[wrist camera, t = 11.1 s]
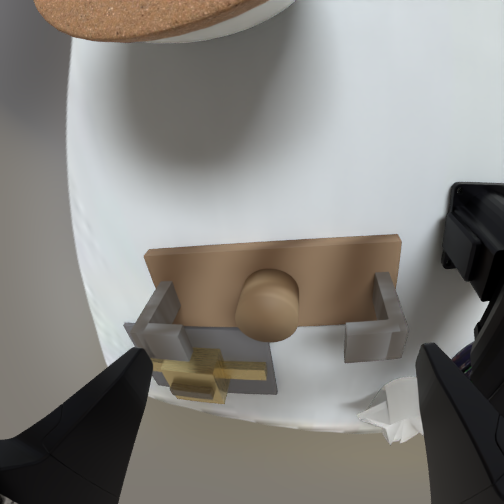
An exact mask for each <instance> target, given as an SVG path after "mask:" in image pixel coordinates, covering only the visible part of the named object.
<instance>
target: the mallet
mask: <svg viewBox="0 0 504 504" xmlns="http://www.w3.org/2000/svg"><path fill="white" fill-rule="evenodd" d="M192 348H193V353H192V356H191V359H190V361H189V362H186V361H175V360H164V359H155V358H150V359H151V361H152V363H153V371H158V372H162V373H163V375H164V377H165V379H166V380H167V382H168V384H169V386H170V391H171V392H172V394H173V395H175V396H176V397H177V399H184V400H191V401H199V402H208V403H218V404H225V400H226V396H227V392H228V388H229V383H230V379H243V380H266V379H267V373H268V372H267V366H266V362H245V361H224V360H223V357H222V353H221V350H220V349H211V348H194V347H192Z"/></svg>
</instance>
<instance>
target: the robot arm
mask: <svg viewBox="0 0 504 504" xmlns="http://www.w3.org/2000/svg"><path fill="white" fill-rule="evenodd" d="M458 188H461V190H460V192H458V193H457V190H458ZM442 247H443V254H442V260H441V263H442V265H443V267H444V268H445V269H453V268H457V270H458V271H459V273H460V274H461V276H462V277H463V279H464V280H465V281H466V282H469V281H470V283H471V285H472V286H473V288H474V290H475V291H476V293H477V294H478V296H479V298H480V299H481V301H482V302H485V301H490V302H489V304H488V306H487V308H486V310H485V312H484V314H483V316H482V318H481V320H480V322H478V323H477V324H476V326H475V328H474V337H475V341H474V343H473V345H472V349H471V353H470V359H471V369H472V371H471V373H470V378H471V381H472V382H471V381H470V379H469V378H468V377H467V376H466V375H465V374H464V373H463V372H462V371H461V370H460V369H459V368H458V367H457V365H456V364H455V363H454V362H453V361H452V360H451V359H450V358H449V357H448V356H447V355H446V354H445V353H444V352H443V351H442V350H441V349H440V348H439V347H438V346H437V345H436V344H435V343H425V344H422V346H421V348H420V351H419V354H418V356H417V359H416V375H417V385H418V397H419V409H420V415H421V421H422V427H423V433H424V439H425V445H426V453H427V461H428V470H429V480H430V491H431V504H504V183H482V182H456V183H454V184H453V186H452V189H451V200H450V209H449V213H448V215H447V218H446V226H445V232H444V239H443V245H442ZM449 260H450V261H449ZM447 261H449V262H448V263H446V262H447ZM152 372H153V363H152V361H151V359H150V357H149V355H148V354H147V352H146V350H145V349H144V348H140V347H133V348H131V349H130V350H129V351H127V352H126V353H125V354H124V355H122V356H121V357H120V358H119V359H117V360H116V361H115V362H114V363H112V364H111V365H110V366H109V367H107V368H106V369H105V370H104V371H102V372H101V373H100V374H99V375H97V376H96V377H95V378H94V379H92V380H91V381H90V382H89V383H88V384H86V385H85V386H84V387H82V388H81V389H80V390H79V391H77V392H76V393H75V394H74V395H73V396H71V397H70V398H69V399H68V400H66V401H65V402H64V403H63V404H61V405H60V406H59V407H58V408H56V409H55V410H54V411H52V412H51V413H50V414H48V415H47V416H46V417H44V418H43V419H41V420H40V421H39V422H37V423H36V424H34V425H33V426H31V427H30V428H28V429H27V430H25V431H23V432H22V433H20V434H19V435H17V436H15V437H13V438H11V439H5V440H0V504H118V502H119V497H120V494H121V490H122V486H123V482H124V478H125V475H126V471H127V467H128V463H129V460H130V456H131V453H132V450H133V446H134V443H135V439H136V435H137V432H138V429H139V426H140V422H141V419H142V416H143V413H144V409H145V406H146V402H147V397H148V392H149V387H150V382H151V377H152Z"/></svg>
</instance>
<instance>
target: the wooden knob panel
mask: <svg viewBox="0 0 504 504" xmlns="http://www.w3.org/2000/svg"><path fill="white" fill-rule="evenodd" d="M401 243H402V241H401V239H400V237H399V236H398V234H392V235H373V236H354V237H336V238H319V239H301V240H285V241H268V242H252V243H236V244H221V245H205V246H190V247H176V248H161V249H149V250H148V251H147V253H146V254H145V255H144V259H145V262H146V264H147V267H148V270H149V272H150V275H151V278H152V280H153V283H154V285H155V288H156V290H155V291H154V293H153V295H152V296H151V298H150V300H149V301H148V303H147V304H146V306H145V308H144V309H143V311H142V313H141V314H140V316H139V318H138V319H137V321H136V323H135V324H134V326H133V328H132V330H131V331H130V334H131V336H132V338H133V340H134V342H135V343H136V345H137V347H140V348H144V349H145V350H146V352H147V354H148V355H149V357H150V358H155V359H164V360H175V361H186V362H189V361H190V359H191V356H192V353H193V348H192V346H191V343H190V341H189V338H188V336H187V334H186V331H185V329H184V326H199V327H238V328H239V329H240V330H241V332H242V333H244V334H245V335H246V336H248V337H250V338H252V339H254V340H257V341H261V342H278V341H282V340H284V339H287V338H288V337H290V336H291V335H292V334H293V333H294V332H295V331H296V329H297V326H320V325H339V324H346V329H345V341H344V360H345V363H354V362H367V361H378V360H388V359H397V358H401V357H402V354H403V350H404V347H405V343H406V340H407V336H408V332H409V329H408V326H407V322H406V319H405V316H404V313H403V310H402V307H401V304H400V301H399V298H398V295H397V293H396V283H397V276H398V269H399V261H400V253H401Z"/></svg>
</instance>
